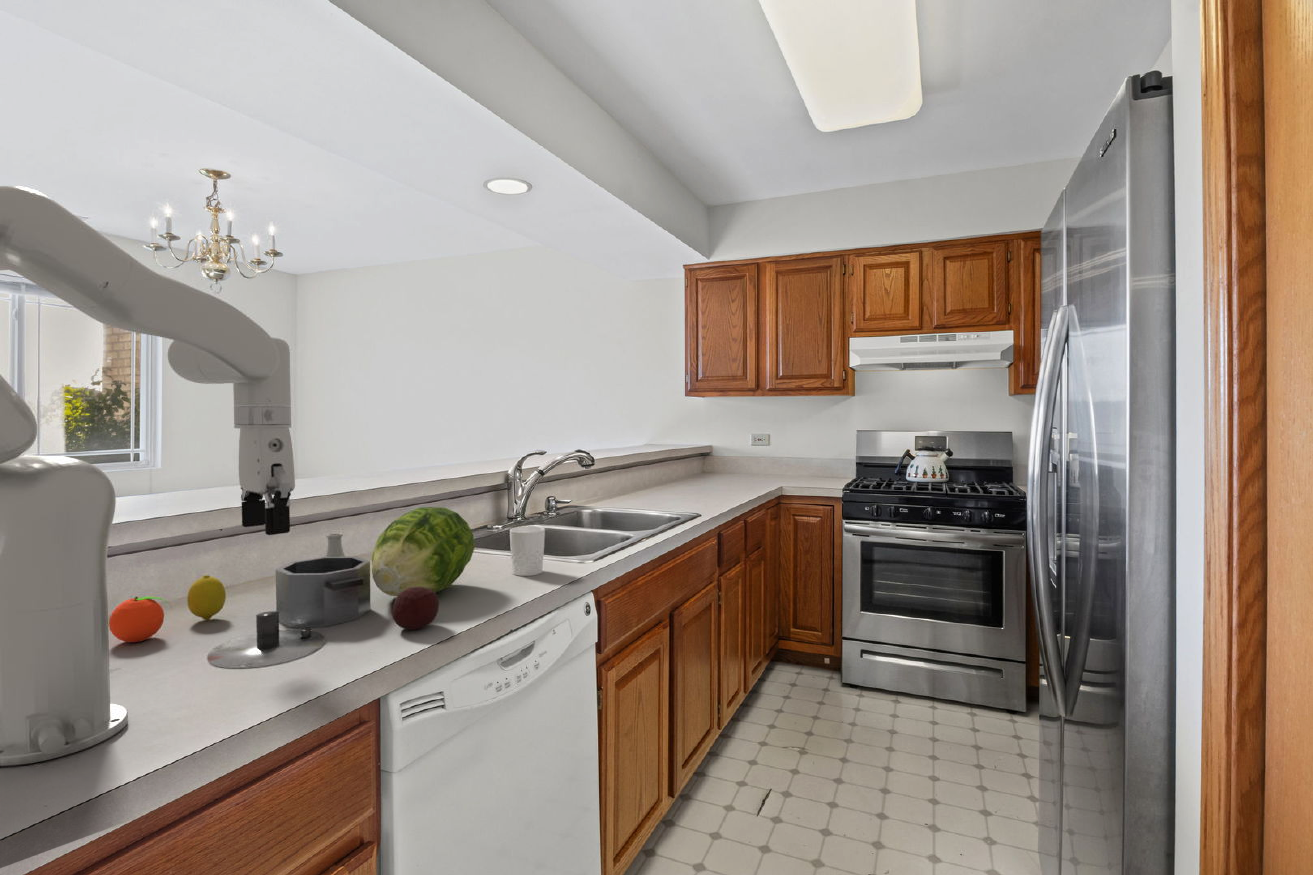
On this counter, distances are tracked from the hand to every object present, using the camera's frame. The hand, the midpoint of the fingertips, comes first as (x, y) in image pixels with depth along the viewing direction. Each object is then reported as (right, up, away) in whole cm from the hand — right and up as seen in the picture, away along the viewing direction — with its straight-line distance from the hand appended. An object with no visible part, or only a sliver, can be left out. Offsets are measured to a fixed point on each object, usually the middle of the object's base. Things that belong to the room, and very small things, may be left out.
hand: (265, 529), depth 102 cm
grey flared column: (-10, -17, +42) cm, 47 cm away
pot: (0, -18, +18) cm, 25 cm away
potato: (+19, -18, +10) cm, 29 cm away
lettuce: (+13, -18, +31) cm, 38 cm away
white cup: (+31, -17, +50) cm, 61 cm away
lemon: (-19, -18, +14) cm, 29 cm away
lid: (0, -19, +1) cm, 19 cm away
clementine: (-22, -19, +4) cm, 29 cm away
